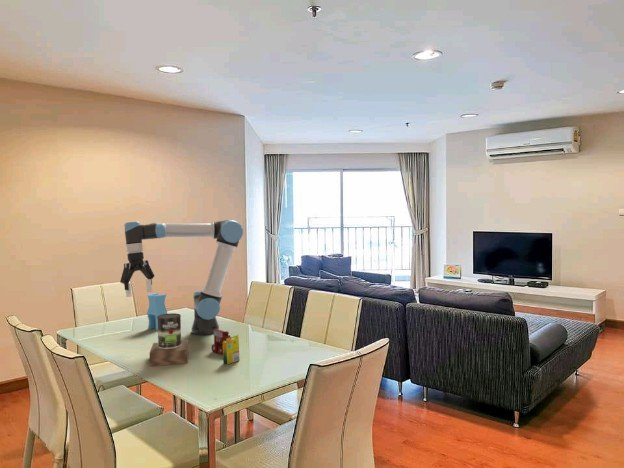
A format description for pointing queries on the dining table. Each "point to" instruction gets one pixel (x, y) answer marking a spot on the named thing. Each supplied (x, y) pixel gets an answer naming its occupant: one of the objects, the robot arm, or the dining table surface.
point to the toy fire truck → (219, 340)
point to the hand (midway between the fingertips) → (139, 294)
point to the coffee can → (169, 331)
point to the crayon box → (231, 350)
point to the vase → (155, 309)
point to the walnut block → (169, 355)
